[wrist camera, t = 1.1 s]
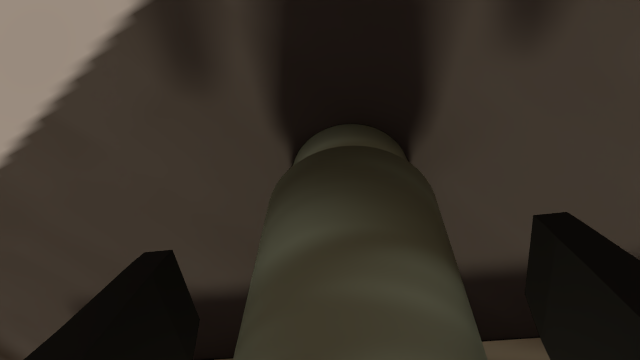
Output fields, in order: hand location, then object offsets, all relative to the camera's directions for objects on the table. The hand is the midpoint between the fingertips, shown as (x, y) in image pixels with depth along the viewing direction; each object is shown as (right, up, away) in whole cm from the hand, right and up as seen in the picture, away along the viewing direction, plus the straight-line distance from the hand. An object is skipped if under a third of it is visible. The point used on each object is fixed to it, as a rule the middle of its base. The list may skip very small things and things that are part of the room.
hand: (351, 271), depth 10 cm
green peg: (0, +2, +3) cm, 4 cm away
